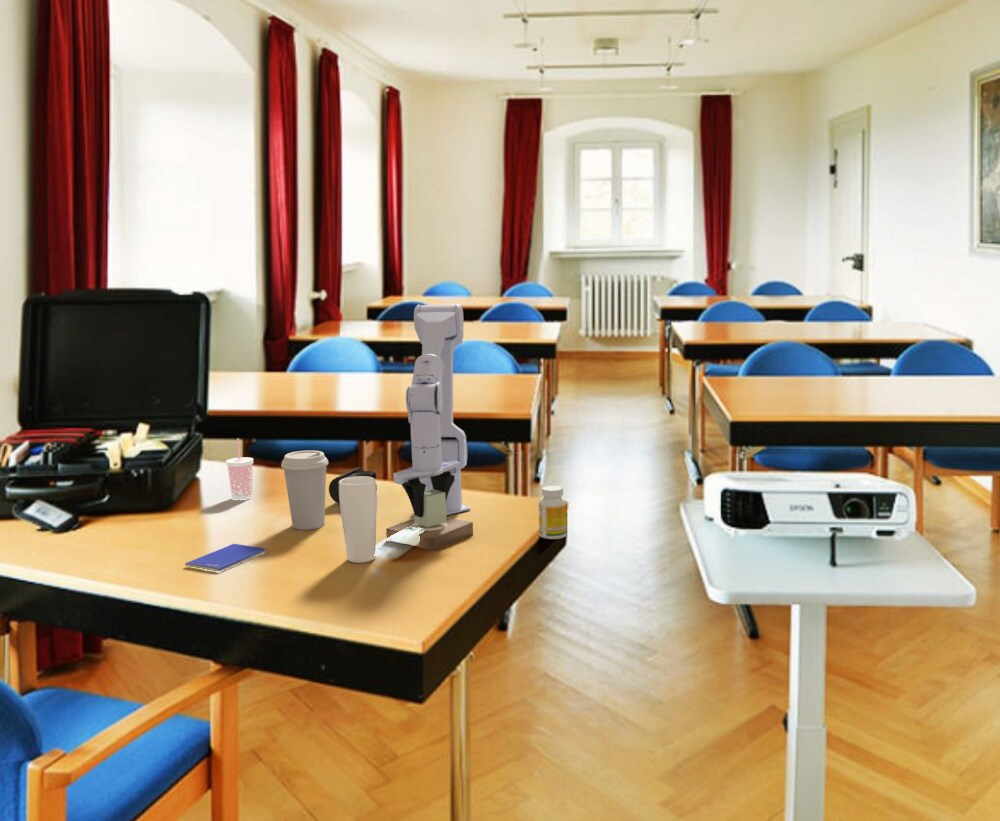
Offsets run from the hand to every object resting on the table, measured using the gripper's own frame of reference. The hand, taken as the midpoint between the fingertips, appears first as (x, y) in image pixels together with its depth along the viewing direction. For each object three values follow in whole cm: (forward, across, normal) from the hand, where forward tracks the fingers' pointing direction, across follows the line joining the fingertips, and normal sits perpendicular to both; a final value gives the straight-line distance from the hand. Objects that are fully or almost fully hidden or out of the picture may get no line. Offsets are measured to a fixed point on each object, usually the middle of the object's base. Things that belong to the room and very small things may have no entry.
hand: (429, 513), depth 199 cm
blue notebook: (+6, -35, +16) cm, 39 cm away
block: (+2, 0, 0) cm, 2 cm away
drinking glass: (+5, -17, -2) cm, 18 cm away
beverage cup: (+5, -13, +56) cm, 58 cm away
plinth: (+5, 0, 0) cm, 5 cm away
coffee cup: (+5, -13, +25) cm, 29 cm away
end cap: (+5, +4, +35) cm, 36 cm away
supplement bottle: (+5, +18, -16) cm, 25 cm away
